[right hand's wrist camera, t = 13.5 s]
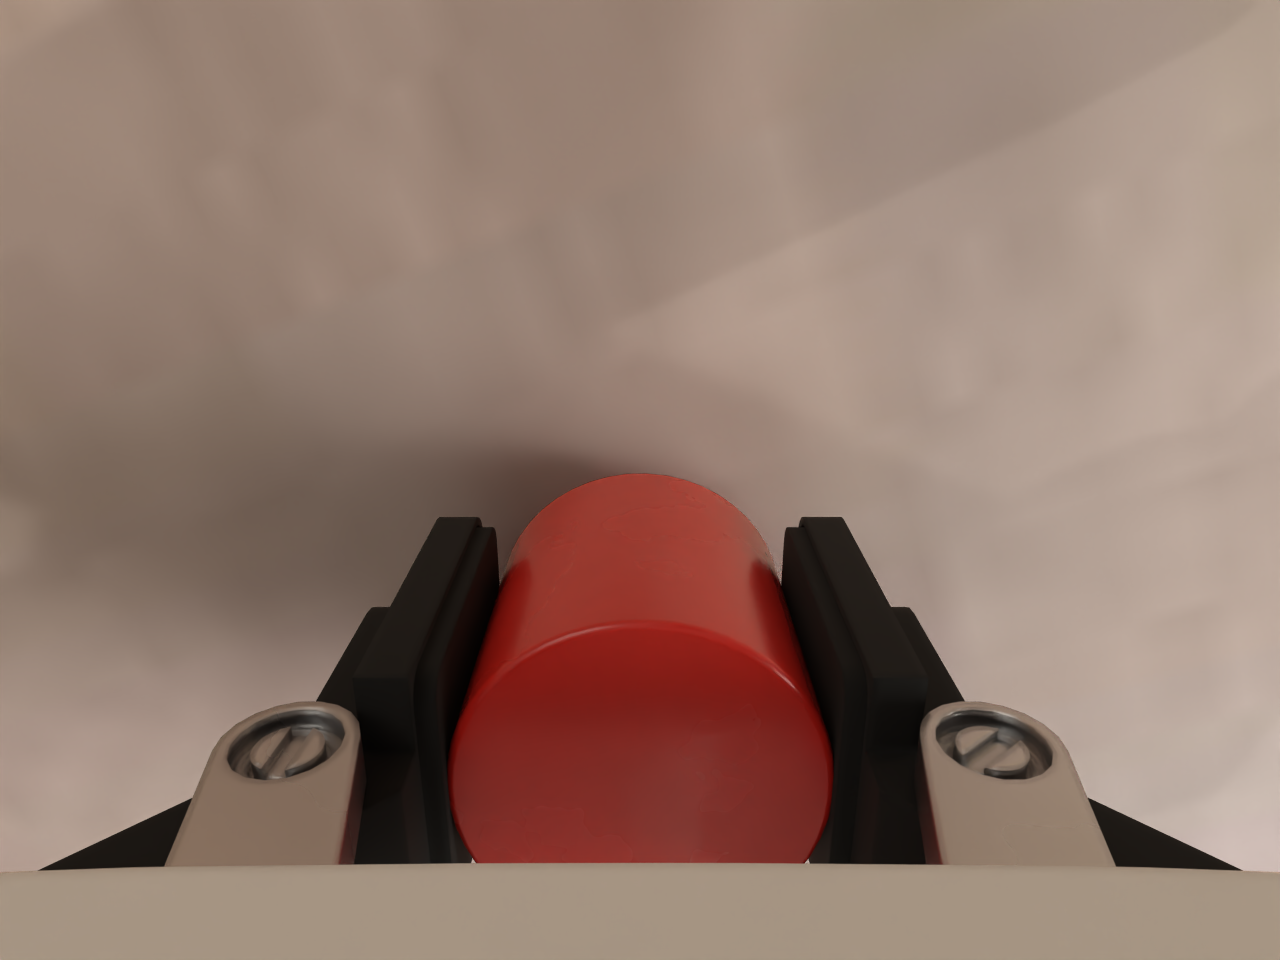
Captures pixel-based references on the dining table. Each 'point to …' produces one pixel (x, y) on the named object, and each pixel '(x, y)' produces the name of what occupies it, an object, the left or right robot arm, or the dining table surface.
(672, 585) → the red cylinder
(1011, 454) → the dining table surface
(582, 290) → the dining table surface
